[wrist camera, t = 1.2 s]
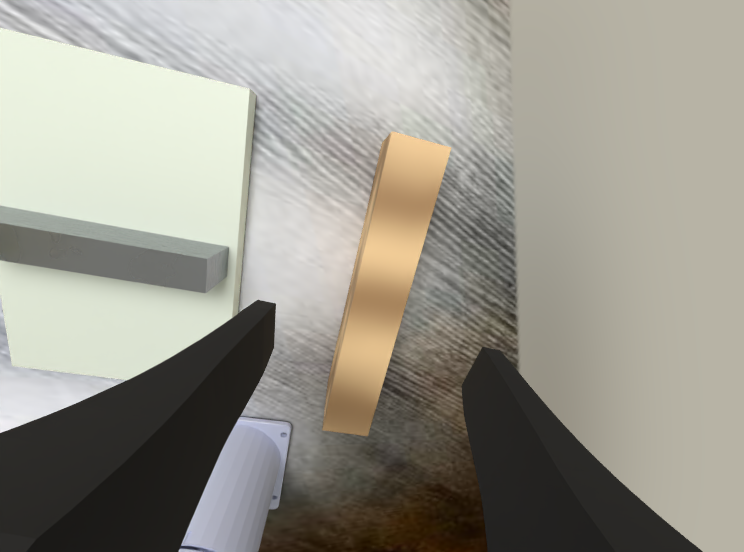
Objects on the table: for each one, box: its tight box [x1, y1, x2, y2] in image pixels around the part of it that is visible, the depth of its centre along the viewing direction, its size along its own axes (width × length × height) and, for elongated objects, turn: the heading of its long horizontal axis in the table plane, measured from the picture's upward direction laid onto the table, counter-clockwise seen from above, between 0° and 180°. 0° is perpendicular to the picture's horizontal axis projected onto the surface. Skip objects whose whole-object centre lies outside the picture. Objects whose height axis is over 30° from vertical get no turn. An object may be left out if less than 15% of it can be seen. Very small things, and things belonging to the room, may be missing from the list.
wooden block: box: [322, 132, 451, 436], centre depth 19 cm, size 18×3×5 cm, turn 167°
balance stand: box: [0, 28, 256, 380], centre depth 18 cm, size 20×14×4 cm
